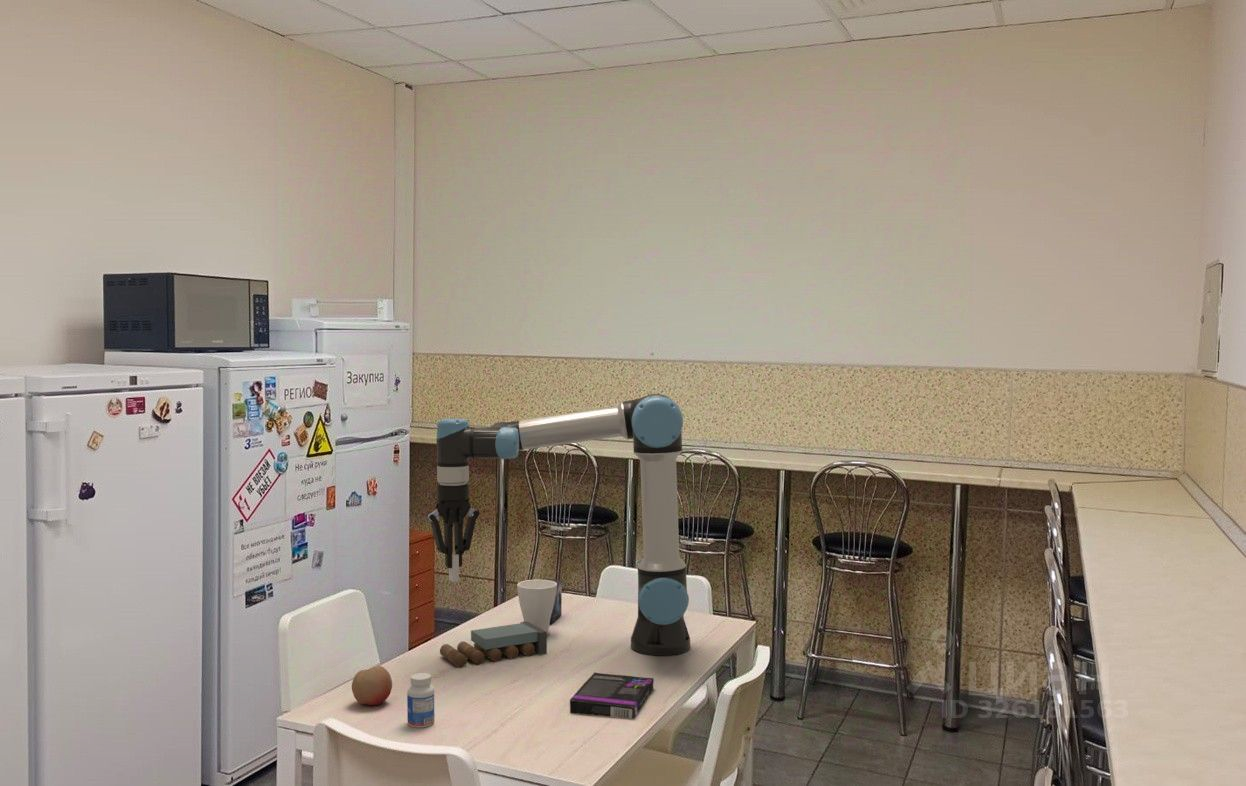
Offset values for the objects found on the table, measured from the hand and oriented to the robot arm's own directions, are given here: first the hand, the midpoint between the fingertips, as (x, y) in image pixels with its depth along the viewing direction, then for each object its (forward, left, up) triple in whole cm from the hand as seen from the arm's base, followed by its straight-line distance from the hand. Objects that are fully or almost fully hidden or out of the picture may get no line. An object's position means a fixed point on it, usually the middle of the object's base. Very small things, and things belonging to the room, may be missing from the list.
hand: (453, 580), depth 249 cm
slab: (0, -13, -17) cm, 21 cm away
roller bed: (0, -9, -20) cm, 22 cm away
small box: (+23, -37, -20) cm, 48 cm away
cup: (+11, -28, -20) cm, 36 cm away
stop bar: (0, -21, -20) cm, 29 cm away
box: (-43, -19, -21) cm, 51 cm away
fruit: (-19, +26, -20) cm, 38 cm away
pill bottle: (-35, +21, -20) cm, 45 cm away
